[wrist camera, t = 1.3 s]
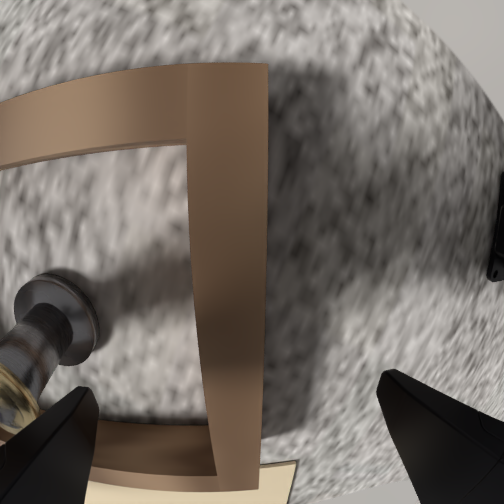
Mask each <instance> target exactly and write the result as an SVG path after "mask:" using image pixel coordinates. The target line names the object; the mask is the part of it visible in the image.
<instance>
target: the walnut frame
mask: <svg viewBox="0 0 504 504" xmlns="http://www.w3.org/2000/svg"><path fill="white" fill-rule="evenodd" d="M173 145H187V185H188V214H189V235H190V252H191V268H192V282H193V294H194V306H195V317H196V328H197V337H198V347H199V356H200V364H201V373H202V381H203V388H204V396H205V403H206V410H207V417H208V424H209V425H196V426H186V425H152V424H136V423H124V422H114V421H105V420H98V425H97V433H96V442H95V451H94V456H93V461H92V466H91V471H90V475H89V480H88V481H93V482H98V483H103V484H109V485H115V486H122V487H129V488H137V489H146V490H157V491H173V492H231V491H247V490H258V489H259V472H260V450H261V427H262V402H263V374H264V343H265V307H266V263H267V203H268V64H264V63H191V64H175V65H163V66H153V67H145V68H137V69H130V70H123V71H117V72H111V73H105V74H100V75H95V76H90V77H85V78H81V79H76V80H72V81H68V82H64V83H60V84H56V85H53V86H49V87H46V88H42V89H39V90H36V91H32V92H29V93H26V94H23V95H20V96H17V97H15V98H12V99H9V100H6V101H4V102H1V103H0V171H1V170H5V169H9V168H14V167H18V166H23V165H27V164H32V163H37V162H42V161H48V160H53V159H59V158H65V157H71V156H78V155H84V154H91V153H99V152H107V151H115V150H124V149H134V148H145V147H158V146H173ZM44 412H45V410H41V409H40V413H41V414H43V413H44ZM14 435H15V434H13V433H11V432H8V431H7V430H5V429H3V428H1V427H0V446H1V445H2V444H5V442H6V441H8V440H9V439H10V438H12V437H13V436H14Z"/></svg>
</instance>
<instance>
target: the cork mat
mask: <svg viewBox="0 0 504 504" xmlns="http://www.w3.org/2000/svg"><path fill="white" fill-rule="evenodd" d="M295 467H296V462H295V461H290V462H283V463H275V464H267V465H260V472H259V489H258V490H247V491H231V492H173V491H157V490H146V489H137V488H129V487H122V486H115V485H109V484H103V483H98V482H93V481H88V486H87V491H86V497H85V502H84V504H286V503H287V499H288V496H289V492H290V488H291V484H292V480H293V475H294V471H295Z"/></svg>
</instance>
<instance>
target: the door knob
mask: <svg viewBox="0 0 504 504" xmlns="http://www.w3.org/2000/svg"><path fill="white" fill-rule="evenodd" d="M14 315H15V319H16V323H17V324H16V325H15V326H14V328H13V329H12V330H11V331H10V332H9V333H8V334H7V335H6V336H5V337H4V338H3V340H2V341H1V342H0V427H1V428H3V429H5V430H7V431H8V432H11V433H13V434H15V435H16V434H17V433H18V432H19V431H21V430H22V429H23V428H25V427H26V426H27V425H28V424H30V423H31V422H32V421H34V420H35V419H36V418H37V417H39V416H40V415H41V413H40V409H39V406H38V404H37V400H38V398H39V397H40V395H41V393H42V391H43V389H44V388H45V386H46V384H47V383H48V381H49V379H50V377H51V376H52V374H53V372H54V371H55V369H56V367H57V366H58V364H59V365H64V366H74V365H78V364H80V363H82V362H84V361H85V360H86V359H87V358H88V357H89V356H90V354H91V352H92V350H93V348H94V347H95V345H96V343H97V340H98V336H99V324H98V319H97V316H96V313H95V311H94V308H93V307H92V305H91V303H90V301H89V300H88V299H87V297H86V296H85V295H84V294H83V292H82V291H81V290H80V289H79V288H78V287H76V286H75V285H74V284H73V283H71V282H70V281H68V280H66V279H64V278H62V277H59V276H57V275H52V274H42V275H38V276H36V277H34V278H32V279H31V280H30V281H29V282H27V283H26V284H25V285H24V286H23V287H21V289H20V290H19V291H18V293H17V295H16V298H15V302H14Z"/></svg>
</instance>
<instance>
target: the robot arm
mask: <svg viewBox="0 0 504 504" xmlns="http://www.w3.org/2000/svg"><path fill="white" fill-rule="evenodd" d="M486 276H487V279H488V280H490V281H492V282H497V281H502V280H504V172H503V173H502V176H501V186H500V197H499V206H498V214H497V221H496V228H495V234H494V240H493V245H492V250H491V255H490V260H489V265H488V269H487V274H486ZM376 394H377V398H378V401H379V404H380V406H381V409H382V412H383V415H384V418H385V422H386V425H387V428H388V430H389V433H390V435H391V438H392V440H393V442H394V444H395V446H396V448H397V451H398V453H399V455H400V457H401V459H402V462H403V464H404V466H405V468H406V471H407V473H408V475H409V478H410V480H411V482H412V484H413V487H414V489H415V491H416V494H417V496H418V498H419V501H420V503H421V504H504V422H503V421H500V420H498V419H495V418H493V417H491V416H489V415H486V414H484V413H482V412H480V411H477V410H476V409H474V408H472V407H470V406H468V405H466V404H464V403H462V402H459V401H457V400H455V399H453V398H451V397H449V396H447V395H445V394H443V393H441V392H439V391H437V390H435V389H433V388H431V387H429V386H427V385H426V384H424V383H422V382H420V381H418V380H416V379H414V378H412V377H410V376H408V375H406V374H404V373H402V372H400V371H398V370H396V369H390V370H385V371H383V373H382V374H381V377H380V380H379V384H378V387H377V391H376ZM98 417H99V406H98V404H97V401H96V399H95V397H94V394H93V392H92V390H91V389H90V388H89V387H82V386H78V387H76V388H75V389H74V390H72V391H71V392H70V393H68V394H67V395H66V396H65V397H63V398H62V399H61V400H59V401H58V402H57V403H56V404H54V405H53V406H52V407H50V408H49V409H48V410H47V411H45V412H44V413H43V414H41V415H40V416H39V417H37V418H36V419H35V420H34V421H32V422H31V423H30V424H28V425H27V426H26V427H25V428H23V429H22V430H21V431H19V432H18V433H17V434H16V435H14V436H13V437H12V438H10V439H9V440H8V441H6V442H5V444H2V445H1V446H0V504H84V502H85V497H86V491H87V486H88V480H89V475H90V471H91V466H92V461H93V456H94V451H95V442H96V433H97V425H98Z"/></svg>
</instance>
